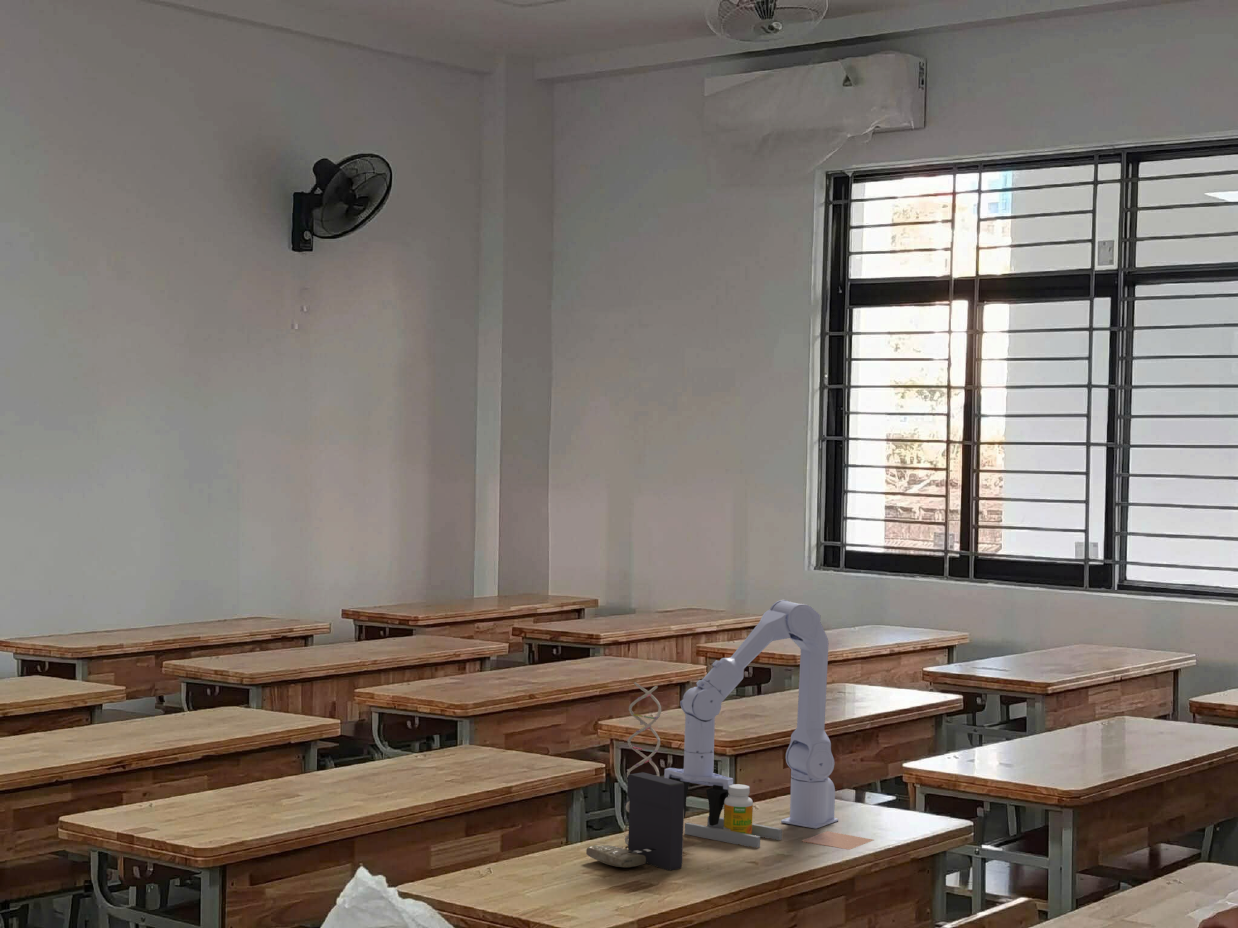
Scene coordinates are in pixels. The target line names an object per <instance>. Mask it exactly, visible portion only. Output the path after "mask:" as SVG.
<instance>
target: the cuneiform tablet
mask: <svg viewBox="0 0 1238 928" xmlns="http://www.w3.org/2000/svg"><path fill="white" fill-rule="evenodd" d="M655 850H656V849H653V848H650V849H643V850H636V851H630V850H628V849H626V848H622V847H618V846H614V845H597V844H596V845H591V846H589V847H587V848H586V855H587V856H588V857H590V858H591V859H594V860H596V861H598V862H600V863H603V864H605V865H608V866H613V867H618V868H633V867H638V866H642V865H644V864H646V863H645V862H646V857H645V856H644V855H640V854H638V853H640V852H647V851H655Z"/></svg>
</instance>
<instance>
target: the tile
mask: <svg viewBox="0 0 1238 928" xmlns="http://www.w3.org/2000/svg"><path fill="white" fill-rule="evenodd" d="M802 841H803V842H802ZM873 841H874V839H871V838H866V837H861V836H855V835H850V834H846V833H845V834H844V833H839V832H834V831H828V830H827V831H824V832H821V833H819V834H816V835H813V836H810V837H808V838H805V839H803V840H802V839H801V842H802V843H806V842H807V844H812V843H813V844H814V845H818V844H819V846H823V847H824V846H826V847H831V848H839V849H843V850H849V851H850V850H852V849H855V848H858V847H860V846H863V845H866V844H868V843H870V842H873Z"/></svg>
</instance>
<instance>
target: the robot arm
mask: <svg viewBox="0 0 1238 928" xmlns="http://www.w3.org/2000/svg"><path fill="white" fill-rule="evenodd" d="M786 639H790V640H792V642H793V643H794V644H795V645H796V646H797V647H799V649H800V659H799V678H798V679H799V680H798V699H797V700H798V701H797V717H796V719H797V720H796V722H797V723H796V728H795V730H793V731H792V733H791V735H790V741H789V745H788V747H787V749H786V752H785V762H786V764H787V766H788V767H789V769H791V770H790V797H789V798H790V802H789V816H788V817H786V818H782V819H781V820H780V822H781V823H783V824H787V825H792V826H800V827H804V828H805V827H806V828H808V829H809V828H810V829H815V830H817V829H819V828H823V827H825V826H828V825H831V824H833V823H836V822H839V818H837V817H835V808H836V807H835V806H836V805H835V803H836V801H835V800H836V789H835V788H836V787H835V784H834V782H833V780H831V778H830V775H832V773H833V771H834V768H835V758H834V756H833V753H832V743H831V740H830V738H829V735H827V733H826V730H825V725H826V724H825V723H826V708H827V707H826V704H827V686H828V685H827V684H828V683H827V682H828V663H829V661H828V660H829V637H828V636H827V634H826V632H825V629H824V627H823V625H822V622H821V615H820V613H819V612H817V611H816V610H815V609H814V608H813V607H812V606H810V605H809V604H806V603H797V602H794V601H793V602H792V601H790V600H787V599H779V600H777V601H775V602H774V603H772V605H771V606H770V608H769V609H768V610H766V611H765V612H764V613H763V614H762V616H761V618H760V620H759V622H758V623H757V625H756V626H755V627H754V628H753V629H752V631H751V632H750V633H749V634H748V636H746V638H745V639H744V640H743V642H741V644H740V645H739V646H738V648H737V649H736V650H735V652H734V653H733V654H732V655H731V656H730V657H722V658H720V660H717V659H716V660H714V662H713V663H712V664H711V666H712V668H711V669H710V670H709V672H707V674H706V675H705V676H704V677H703V678H702V679H701V680H700V679H699V680H698V681H697V682H696V686H693V687H690V688H689V689H687V690H686V691H685V692H684V694H683V696H682V700H680V702H679V703H680V705H679V706H680V707H681V710H682V711H683V713H684V714H685V717H684V718H685V720H684V721H685V722H684V723H685V724H684V742H683V743H684V749H683V751H684V753H683V768H675V767H667V768H664V776H663V777H664V778H668V779H672V780H676V781H680V782H683V783H684V819H685V818H686V811H687V797H688V792H689V786H690V783H691V784H695V785H696V784H698V785H704V786H709V787H710V788H707V789H706V790H705V792H706V795H707V799H708V816H709V824H710V825H711V826H713V825H717V824H718V822H719V818H720V817H721V814H722V810H723V809H724V801H725V798H726V797H728V796H729V793H728V787H729V785H732V784H734V778H733V777H729V776H724V775H722V774H718V773H715V772H714V766H715V765H714V764H715V763H714V762H715V759H714V758H715V752H714V751H715V731H716V729H715V726H716V725H715V724H716V723H715V719H716V717H717V716H718V715H719V714H720V713H721V709H722V703H723V702H724V701H725V700H726V698H727V697H728V696H729V695H730V694H731V693H732V692H733V690H735V689H736V687H738V685H739V684H740V683H741V682H742V680H743V679H744V676H745V675H744V673H745V669H746V668H747V666H748V665H749V664H751V663H752V661H753V660H755V659H756V657H758V655H760V654H761V653H762V652H763V651H764V650H765V649H766V648H767V647H768V645H771V643H772V642H774V641H781V640H786Z"/></svg>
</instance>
